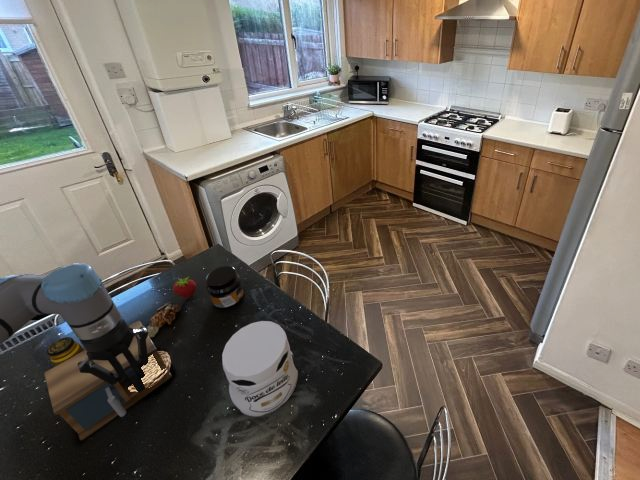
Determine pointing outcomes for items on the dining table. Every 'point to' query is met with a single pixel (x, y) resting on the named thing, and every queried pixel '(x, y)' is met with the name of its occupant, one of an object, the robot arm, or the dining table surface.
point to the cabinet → (93, 384)
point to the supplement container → (224, 287)
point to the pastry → (162, 318)
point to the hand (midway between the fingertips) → (140, 387)
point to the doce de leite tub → (259, 368)
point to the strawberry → (185, 287)
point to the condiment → (63, 350)
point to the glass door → (99, 405)
